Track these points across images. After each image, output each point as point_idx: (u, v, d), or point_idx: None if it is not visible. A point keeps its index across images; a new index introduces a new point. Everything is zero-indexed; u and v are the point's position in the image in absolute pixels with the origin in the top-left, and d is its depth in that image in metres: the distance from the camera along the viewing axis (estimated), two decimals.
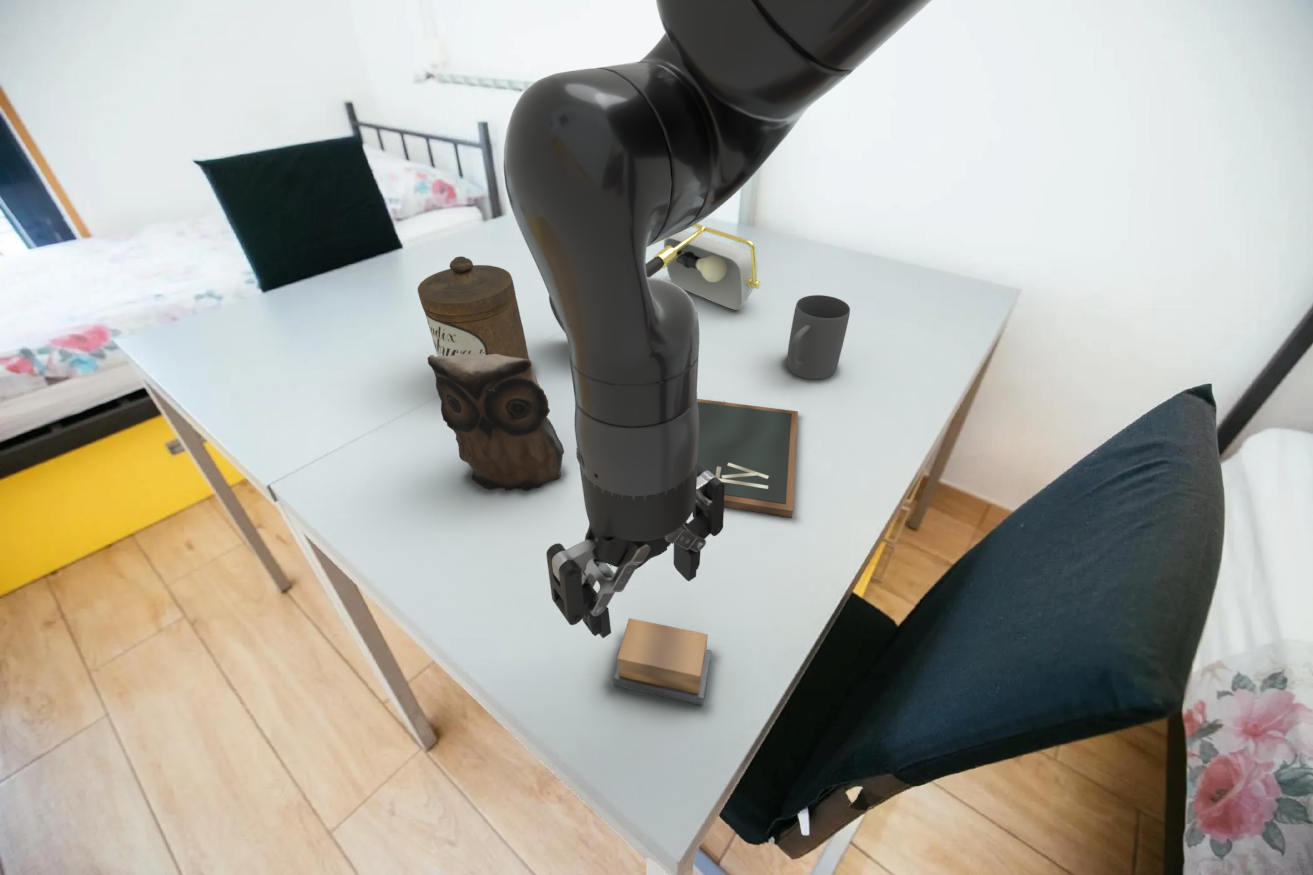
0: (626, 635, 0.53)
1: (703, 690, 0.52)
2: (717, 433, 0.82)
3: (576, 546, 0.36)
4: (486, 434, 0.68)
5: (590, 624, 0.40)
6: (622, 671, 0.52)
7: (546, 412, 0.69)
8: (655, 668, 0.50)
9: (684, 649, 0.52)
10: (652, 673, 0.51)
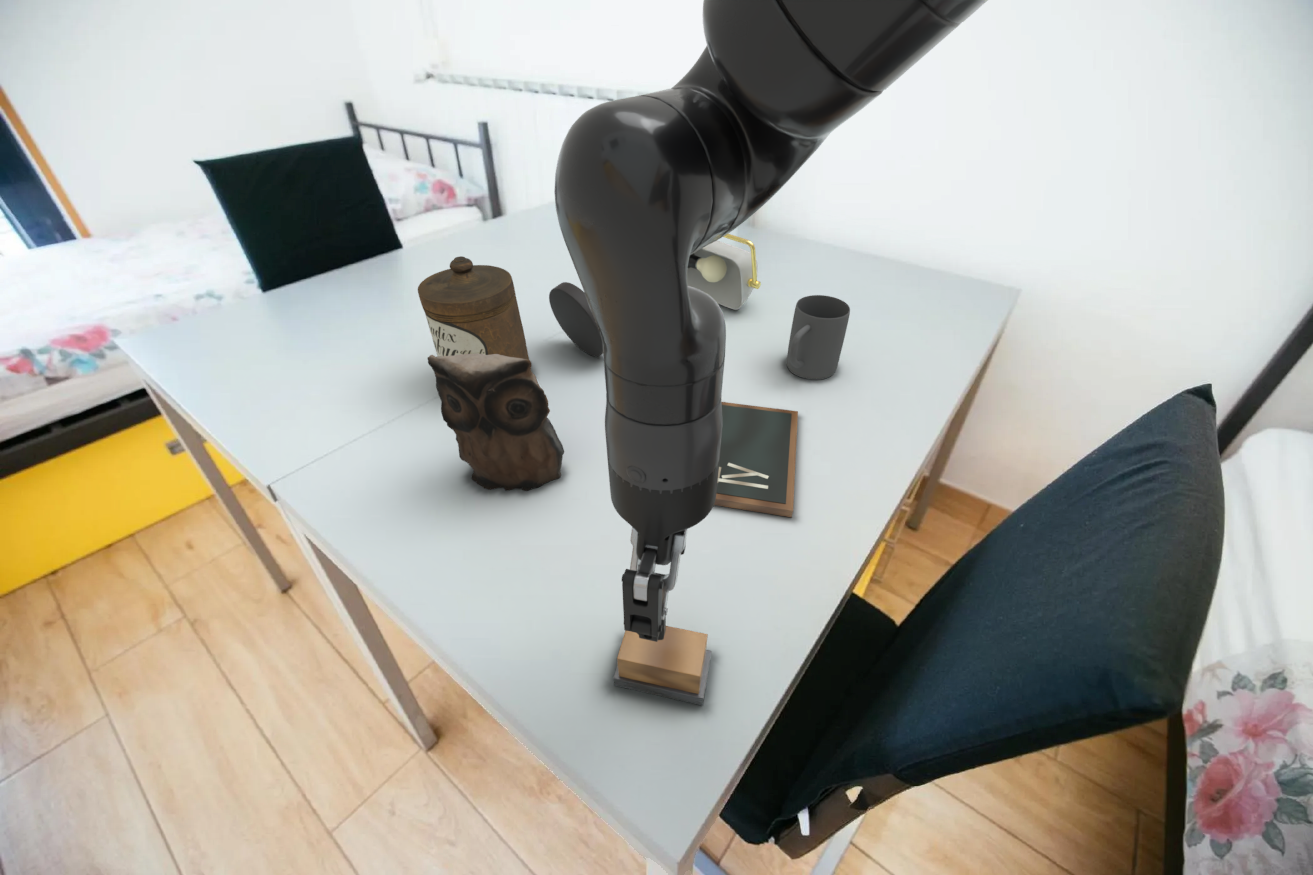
0: (626, 635, 0.53)
1: (703, 690, 0.52)
2: None
3: (642, 562, 0.36)
4: (486, 434, 0.68)
5: None
6: (622, 671, 0.52)
7: (546, 412, 0.69)
8: (655, 668, 0.50)
9: (684, 649, 0.52)
10: (652, 673, 0.51)
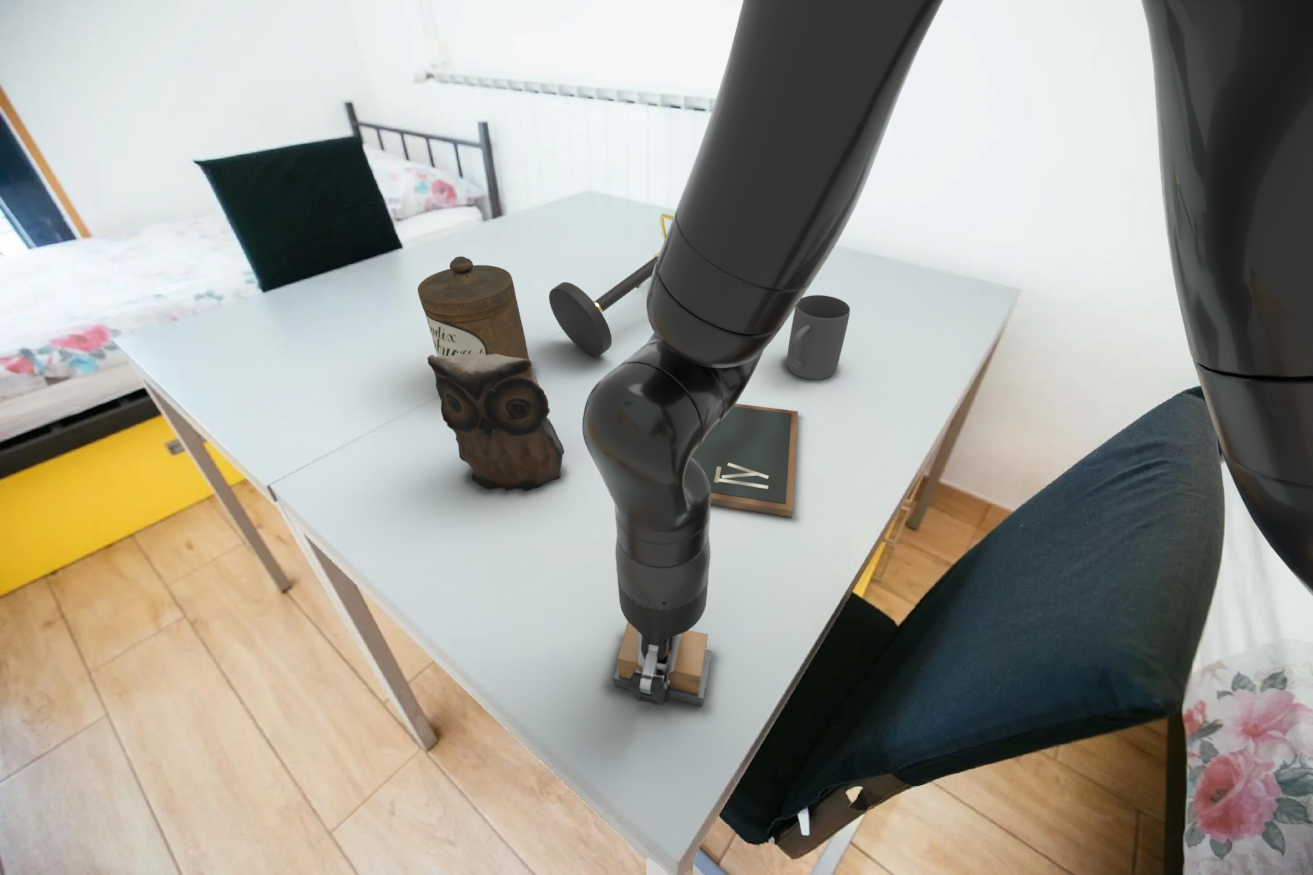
0: (626, 635, 0.53)
1: (703, 690, 0.52)
2: (717, 433, 0.82)
3: (645, 665, 0.44)
4: (486, 434, 0.68)
5: None
6: (622, 671, 0.52)
7: (546, 412, 0.69)
8: None
9: (683, 649, 0.52)
10: None
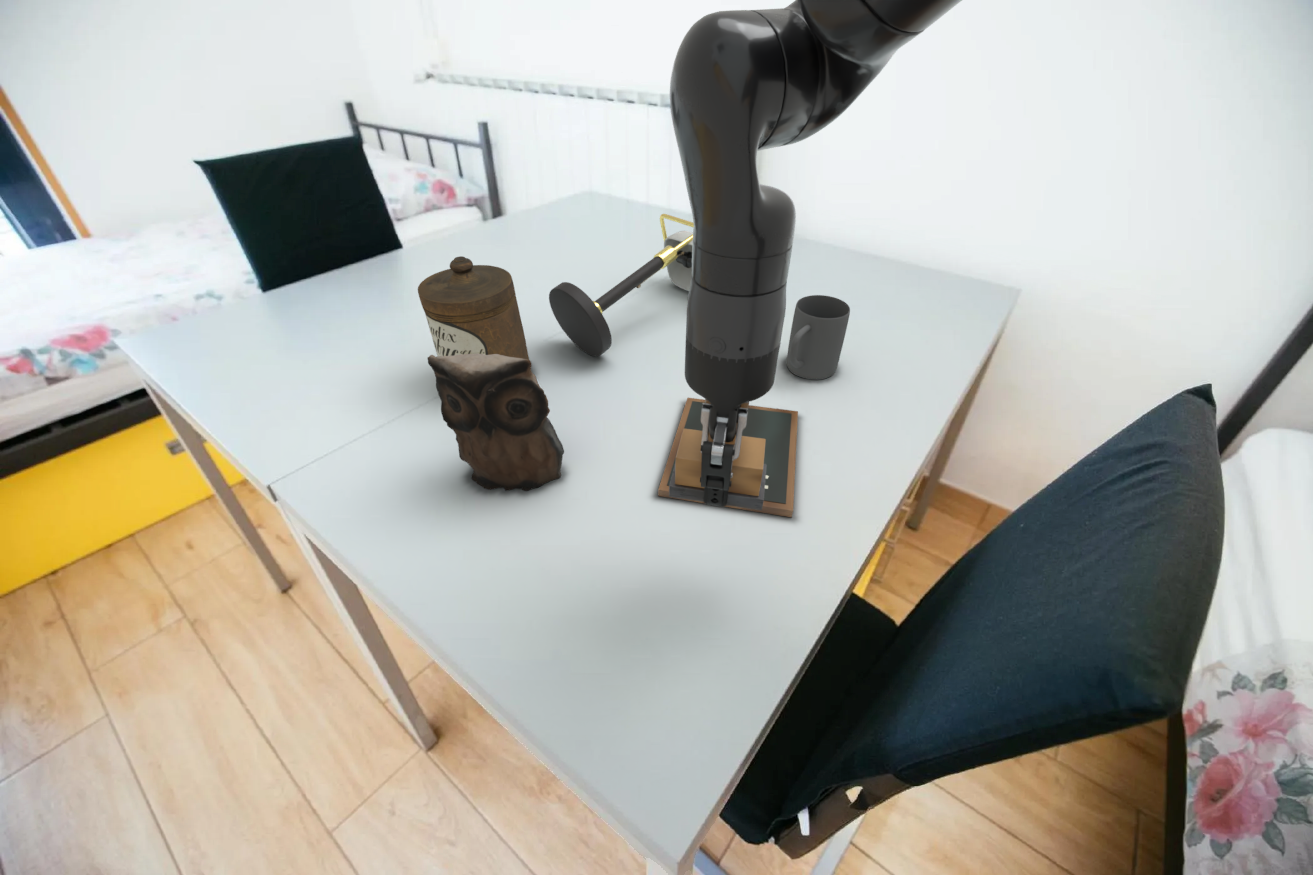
0: (682, 441, 0.52)
1: (762, 493, 0.51)
2: None
3: (715, 434, 0.43)
4: (486, 434, 0.68)
5: (721, 495, 0.49)
6: (679, 476, 0.51)
7: (546, 412, 0.69)
8: None
9: (743, 450, 0.50)
10: None
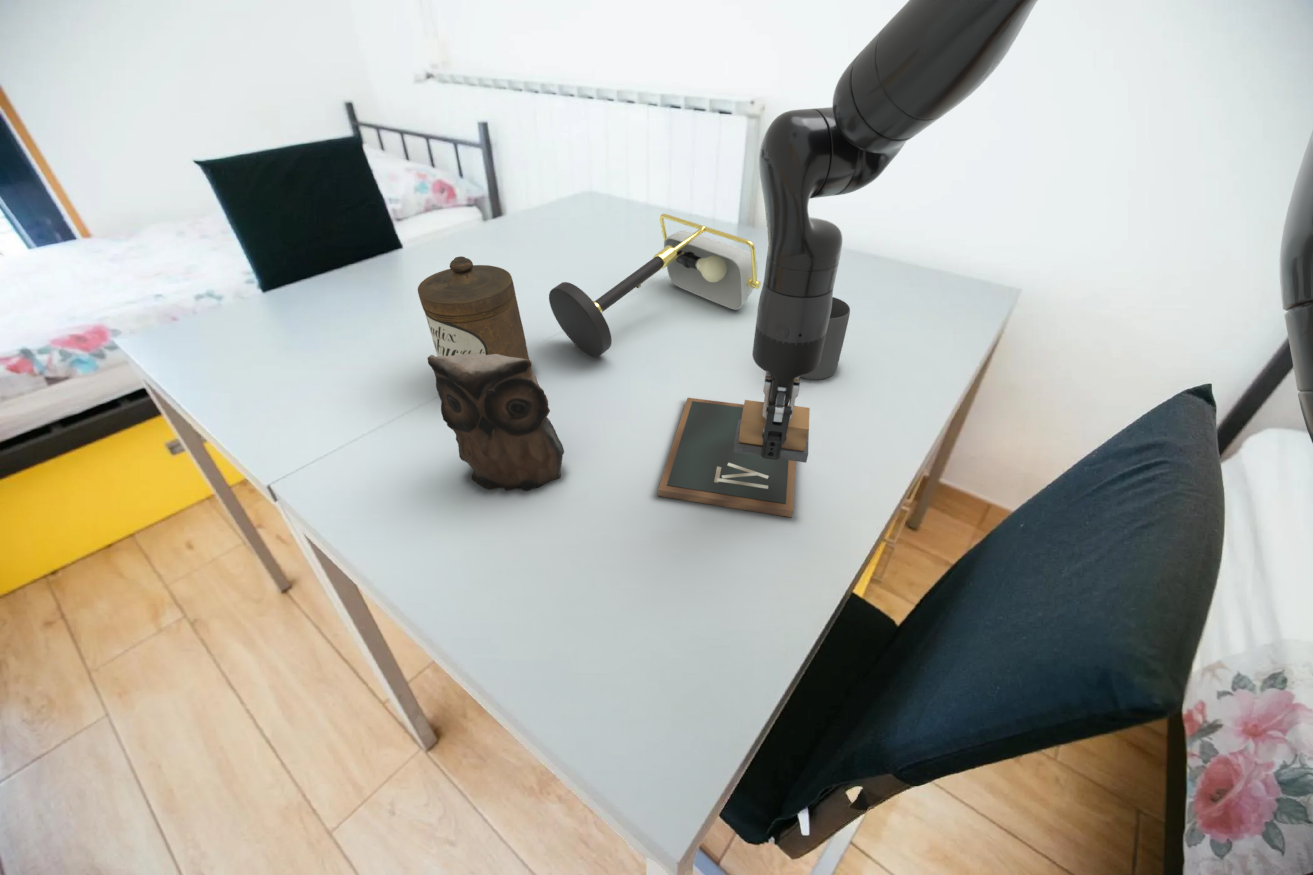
0: (745, 408, 0.67)
1: (807, 449, 0.66)
2: (717, 433, 0.82)
3: (777, 399, 0.59)
4: (486, 434, 0.68)
5: (776, 449, 0.65)
6: (743, 435, 0.66)
7: (546, 412, 0.69)
8: None
9: (792, 415, 0.66)
10: None
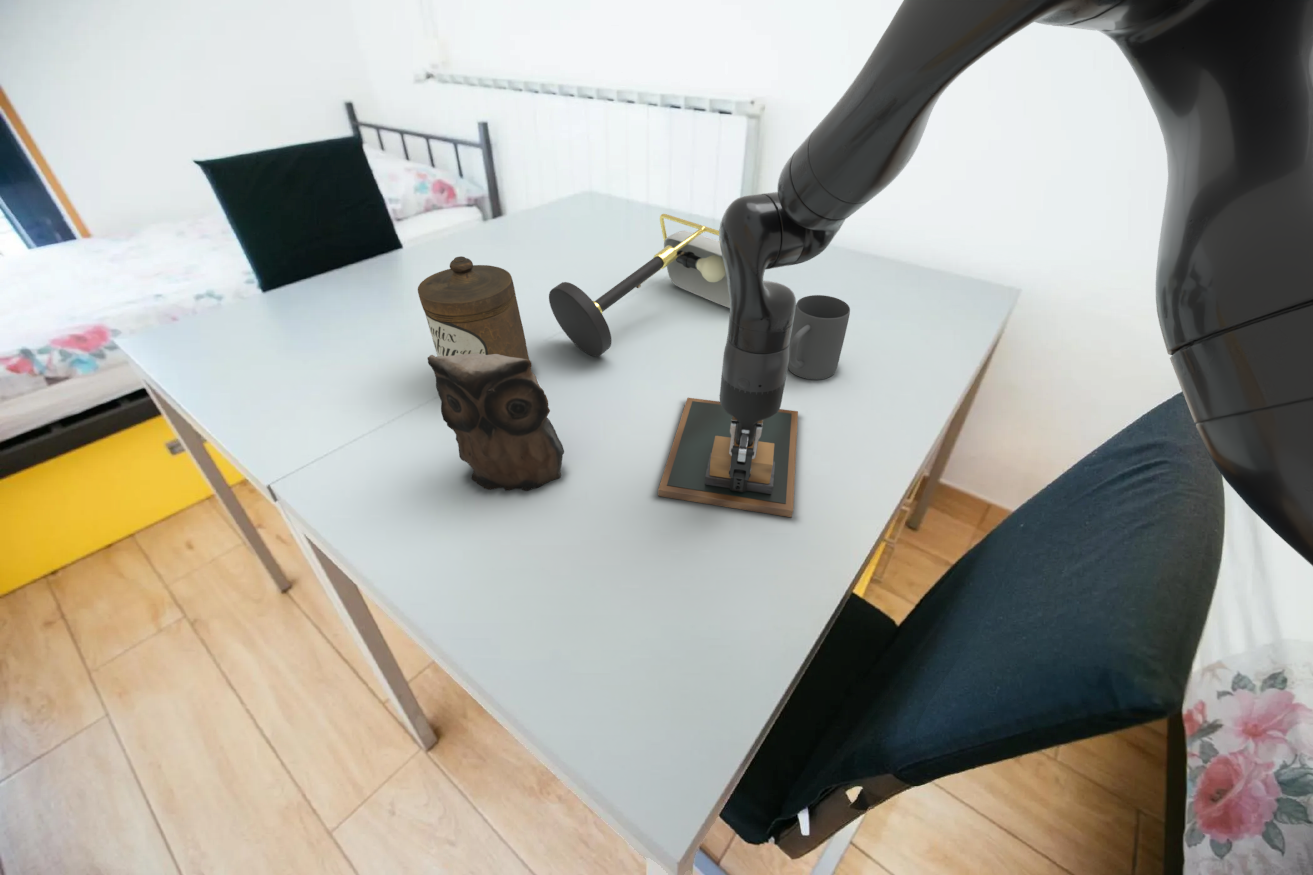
0: (715, 444, 0.72)
1: (772, 482, 0.72)
2: (717, 433, 0.82)
3: (741, 441, 0.64)
4: (486, 434, 0.68)
5: (743, 483, 0.70)
6: (713, 469, 0.72)
7: (546, 412, 0.69)
8: None
9: (758, 451, 0.71)
10: None
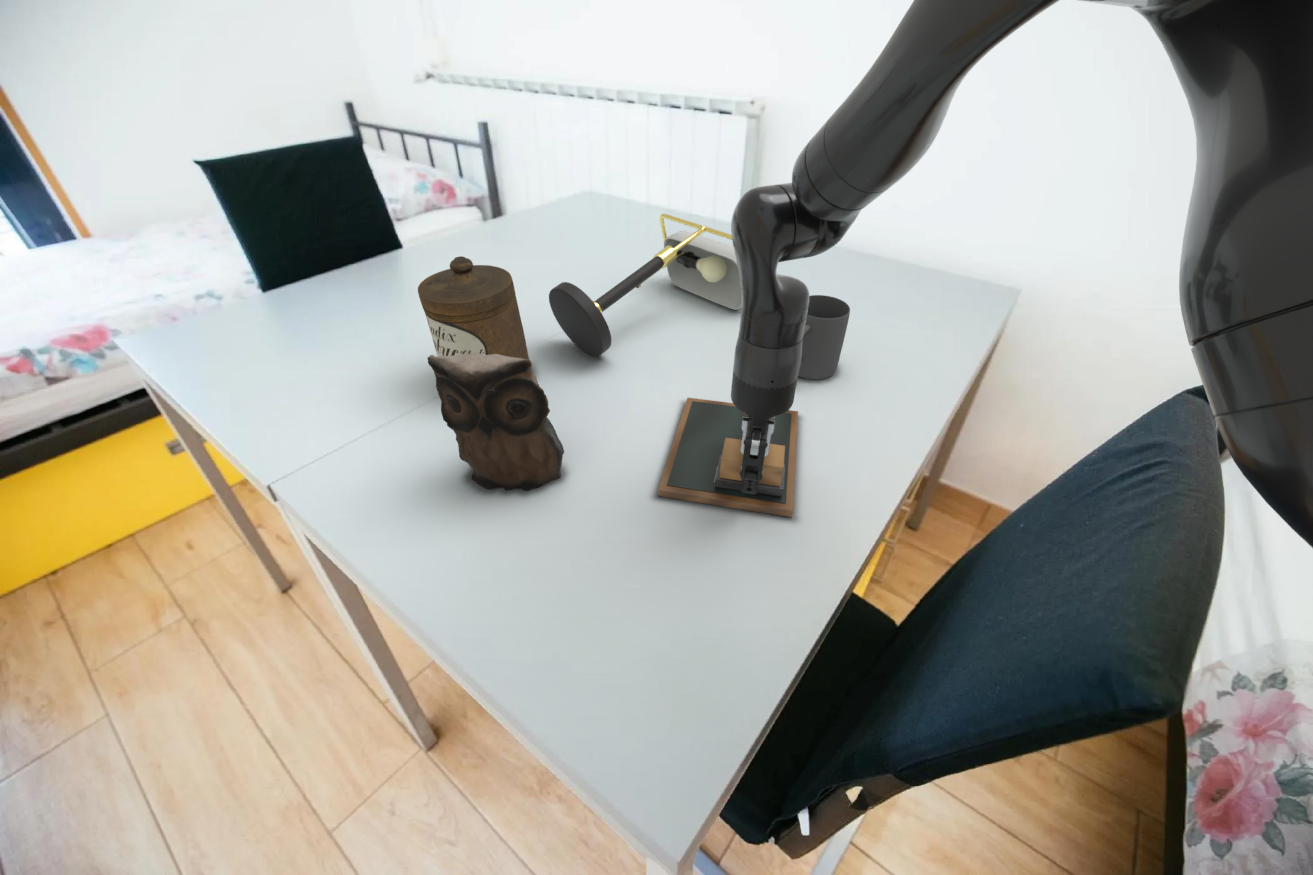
0: (725, 446, 0.72)
1: (782, 484, 0.71)
2: (717, 433, 0.82)
3: (753, 434, 0.63)
4: (486, 434, 0.68)
5: (754, 485, 0.68)
6: (723, 471, 0.72)
7: (546, 412, 0.69)
8: None
9: (769, 453, 0.71)
10: None
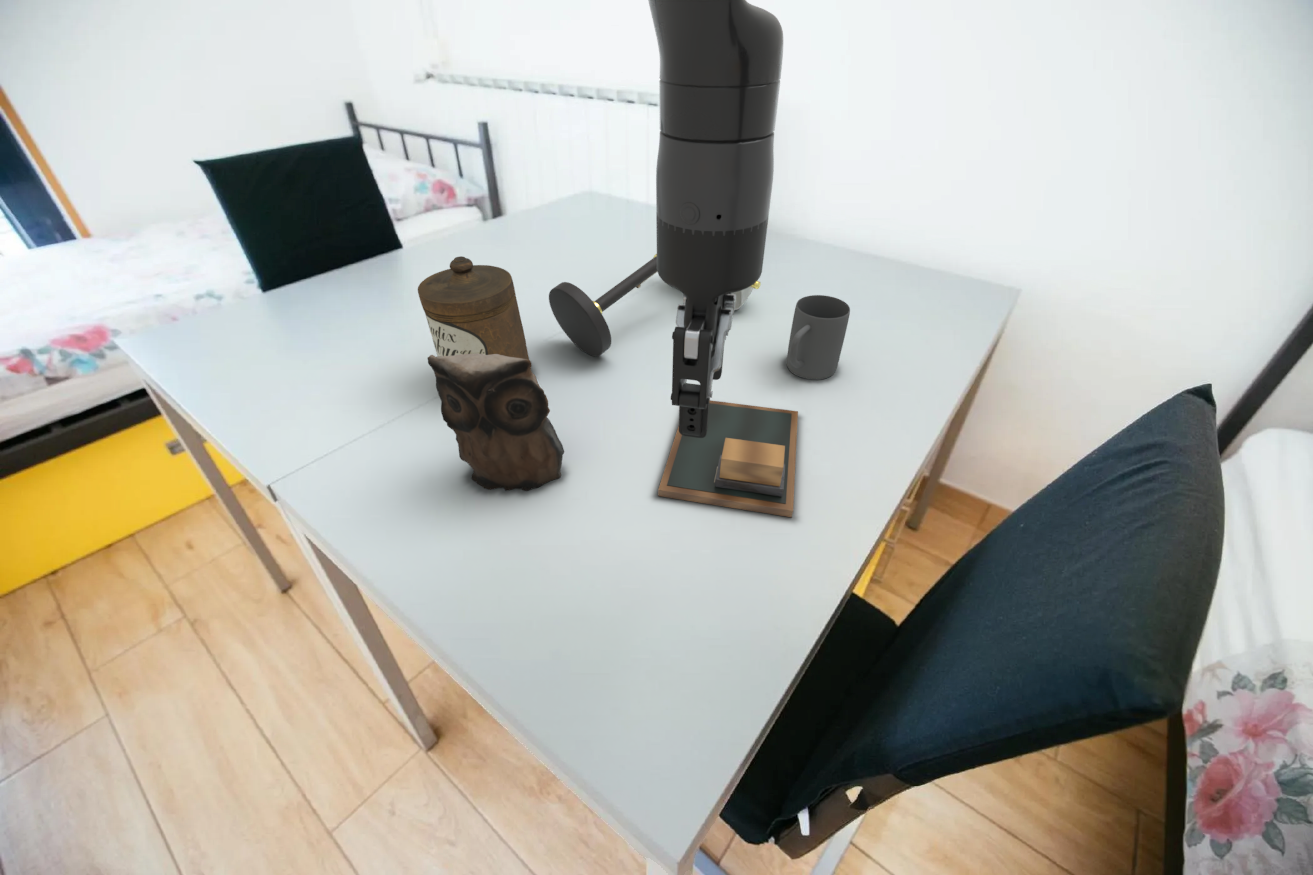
0: (725, 446, 0.72)
1: (782, 484, 0.71)
2: (717, 433, 0.82)
3: (691, 323, 0.36)
4: (486, 434, 0.68)
5: (699, 420, 0.41)
6: (723, 471, 0.72)
7: (546, 412, 0.69)
8: (749, 464, 0.70)
9: (769, 453, 0.71)
10: (746, 470, 0.71)
